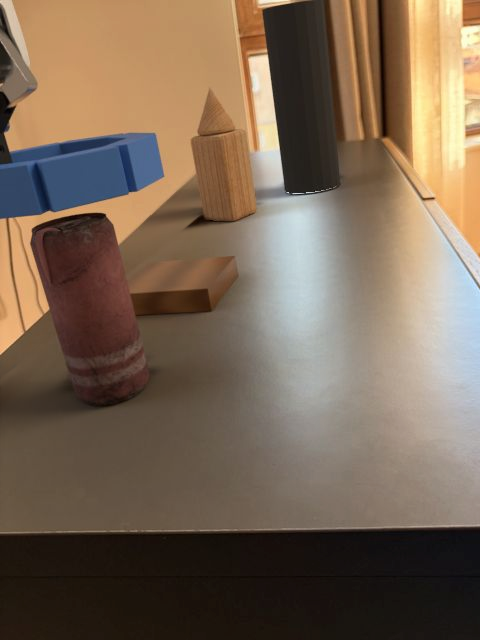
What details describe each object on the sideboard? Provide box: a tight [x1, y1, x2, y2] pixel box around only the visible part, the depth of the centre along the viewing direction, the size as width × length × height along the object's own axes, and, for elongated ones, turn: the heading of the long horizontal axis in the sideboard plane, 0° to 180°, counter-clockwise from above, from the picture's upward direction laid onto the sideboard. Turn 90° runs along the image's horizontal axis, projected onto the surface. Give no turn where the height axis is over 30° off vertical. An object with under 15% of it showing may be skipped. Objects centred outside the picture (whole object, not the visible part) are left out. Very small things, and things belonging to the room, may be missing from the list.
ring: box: [0, 132, 165, 220], centre depth 45 cm, size 14×14×3 cm
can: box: [29, 212, 151, 407], centre depth 49 cm, size 6×6×14 cm
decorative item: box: [190, 86, 258, 222], centre depth 101 cm, size 7×7×20 cm
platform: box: [127, 255, 239, 316], centre depth 71 cm, size 11×11×2 cm
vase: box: [261, 0, 341, 193], centre depth 111 cm, size 10×10×30 cm
